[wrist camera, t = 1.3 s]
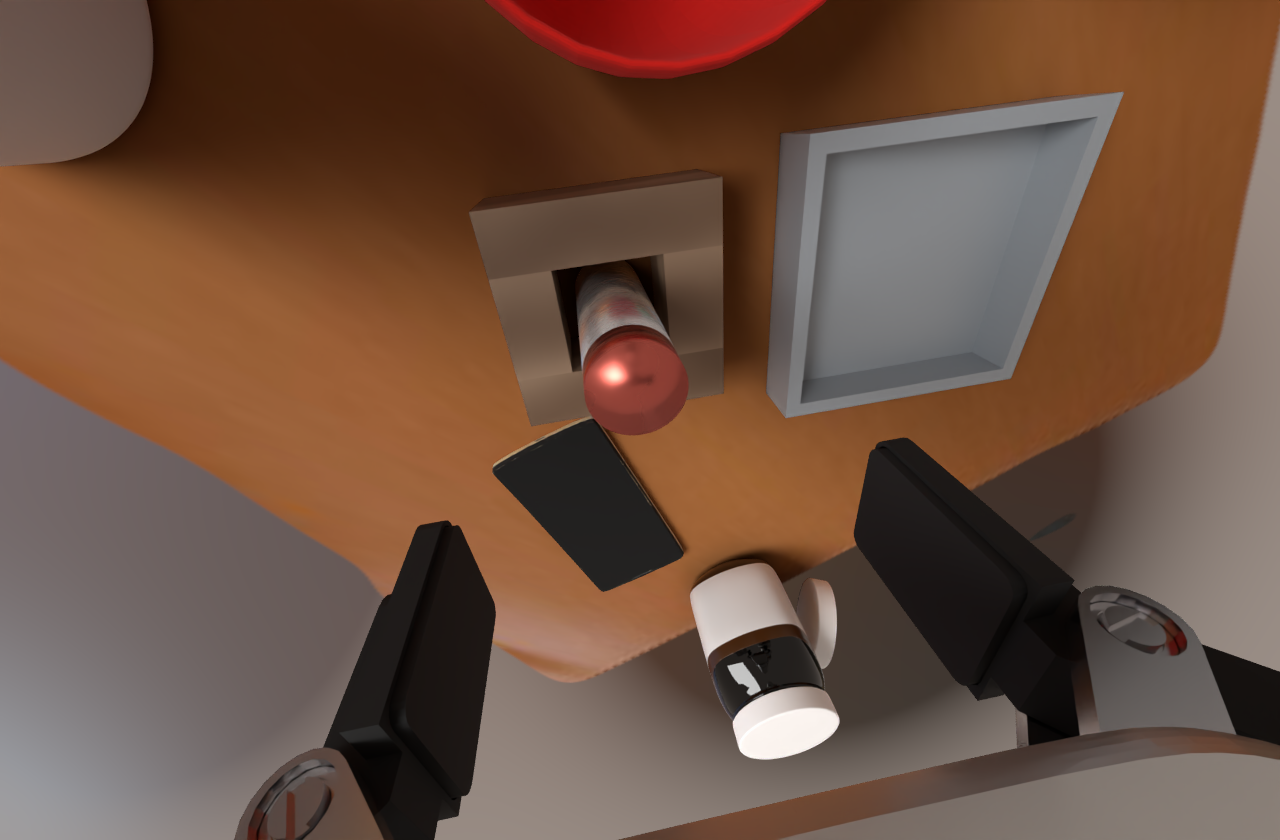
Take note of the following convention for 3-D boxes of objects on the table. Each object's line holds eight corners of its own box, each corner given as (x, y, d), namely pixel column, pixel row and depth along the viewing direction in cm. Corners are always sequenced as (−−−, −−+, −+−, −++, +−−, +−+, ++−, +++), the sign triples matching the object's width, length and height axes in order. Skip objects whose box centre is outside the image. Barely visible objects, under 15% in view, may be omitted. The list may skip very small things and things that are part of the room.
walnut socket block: (483, 198, 21) (468, 212, 17) (697, 169, 21) (722, 176, 18) (534, 388, 26) (531, 426, 23) (703, 360, 27) (723, 393, 23)
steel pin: (569, 261, 23) (575, 352, 14) (635, 251, 23) (686, 334, 14) (581, 325, 25) (593, 442, 15) (642, 315, 25) (691, 425, 16)
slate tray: (780, 133, 21) (810, 133, 18) (1059, 95, 22) (1124, 91, 19) (766, 392, 29) (785, 417, 26) (972, 357, 30) (1010, 378, 27)
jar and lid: (672, 568, 37) (713, 725, 27) (805, 517, 36) (896, 661, 26) (714, 639, 43) (757, 786, 34) (826, 598, 42) (905, 737, 33)
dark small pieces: (592, 417, 27) (686, 558, 35) (591, 407, 28) (683, 546, 36) (487, 469, 28) (602, 595, 36) (490, 458, 29) (601, 583, 37)
